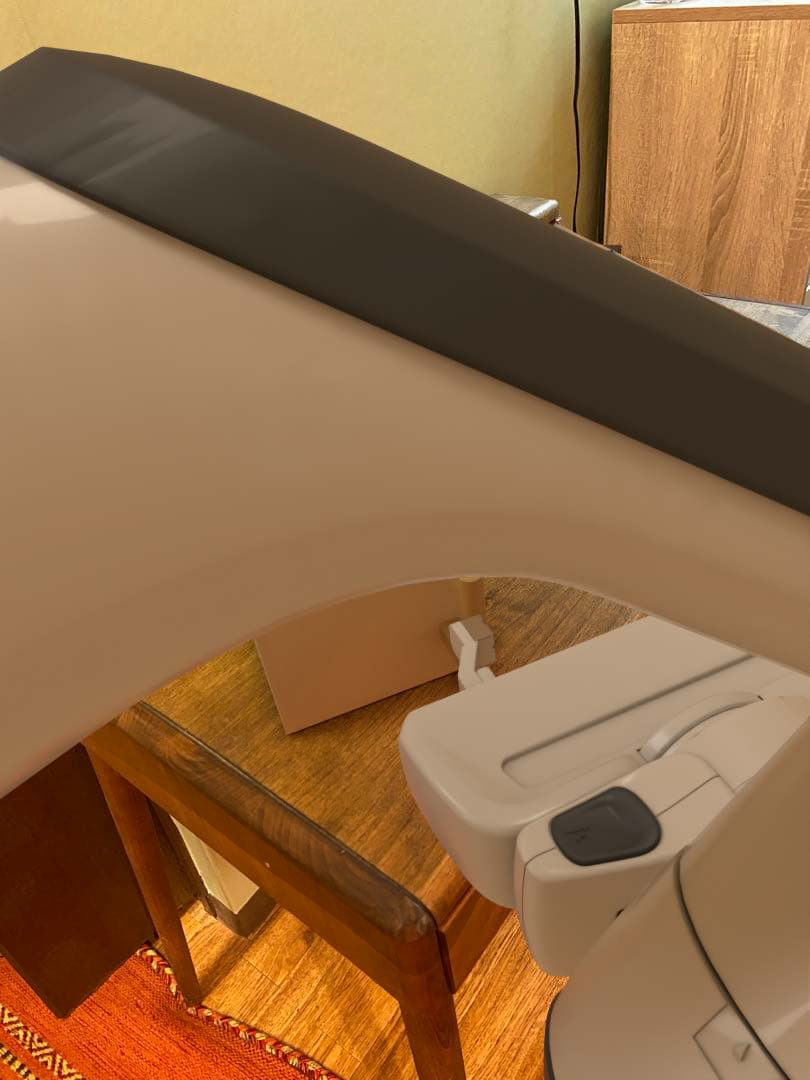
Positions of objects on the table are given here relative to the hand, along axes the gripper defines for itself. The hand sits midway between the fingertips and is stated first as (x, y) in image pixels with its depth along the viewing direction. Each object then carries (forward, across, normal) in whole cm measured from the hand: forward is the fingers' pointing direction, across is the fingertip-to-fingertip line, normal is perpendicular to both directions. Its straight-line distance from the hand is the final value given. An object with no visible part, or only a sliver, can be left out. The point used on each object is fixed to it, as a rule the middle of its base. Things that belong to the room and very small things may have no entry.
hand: (553, 594), depth 39 cm
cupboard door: (+13, +6, +20) cm, 25 cm away
